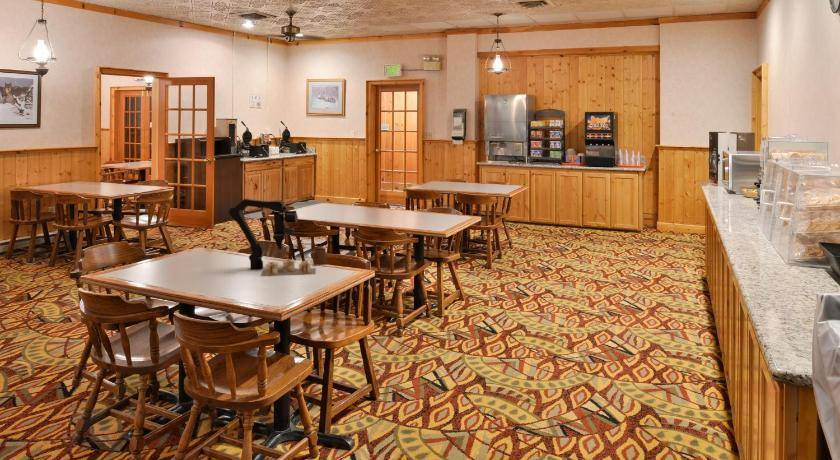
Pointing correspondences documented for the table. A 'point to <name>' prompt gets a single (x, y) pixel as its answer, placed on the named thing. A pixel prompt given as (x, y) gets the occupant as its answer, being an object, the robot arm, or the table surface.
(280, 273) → the mat
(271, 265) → the marked block left
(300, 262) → the marked block right
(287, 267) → the plain block
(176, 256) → the table surface
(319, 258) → the mug
